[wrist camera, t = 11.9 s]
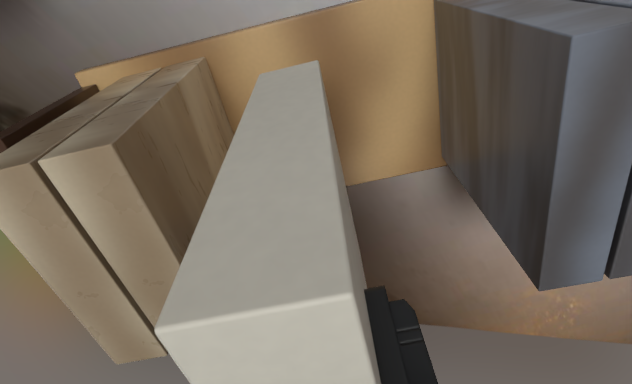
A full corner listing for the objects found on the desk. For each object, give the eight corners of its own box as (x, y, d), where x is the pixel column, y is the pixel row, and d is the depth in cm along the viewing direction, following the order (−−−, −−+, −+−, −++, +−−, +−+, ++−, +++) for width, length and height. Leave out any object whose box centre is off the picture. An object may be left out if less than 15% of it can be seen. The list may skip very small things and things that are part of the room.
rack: (163, 218, 35) (71, 384, 21) (81, 69, 28) (-141, 175, 14) (535, 140, 32) (714, 275, 18) (553, -51, 24) (877, -71, 11)
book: (314, 255, 24) (324, 575, 12) (258, 73, 18) (150, 331, 5) (358, 246, 24) (421, 565, 11) (318, 59, 18) (354, 294, 5)
